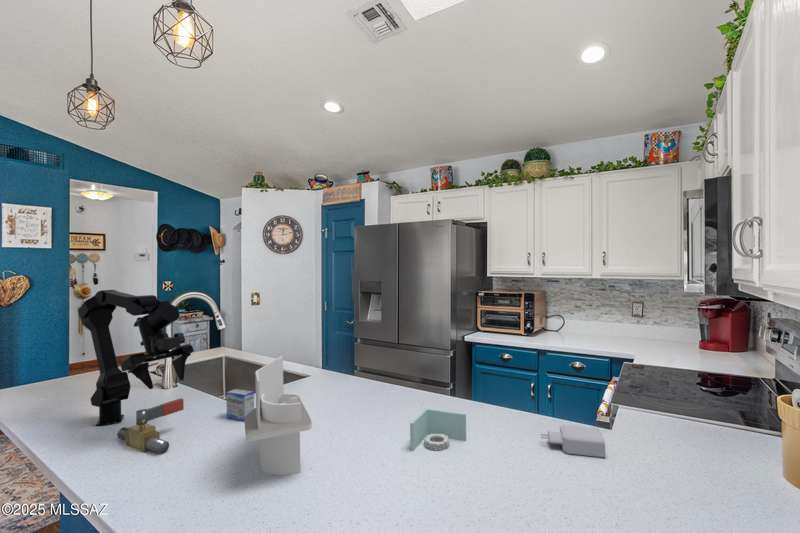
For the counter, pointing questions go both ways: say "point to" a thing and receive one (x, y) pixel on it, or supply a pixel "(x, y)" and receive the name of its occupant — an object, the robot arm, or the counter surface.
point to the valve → (143, 438)
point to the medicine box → (239, 404)
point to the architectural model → (276, 422)
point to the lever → (158, 411)
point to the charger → (578, 440)
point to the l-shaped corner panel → (437, 429)
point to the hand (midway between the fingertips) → (167, 384)
